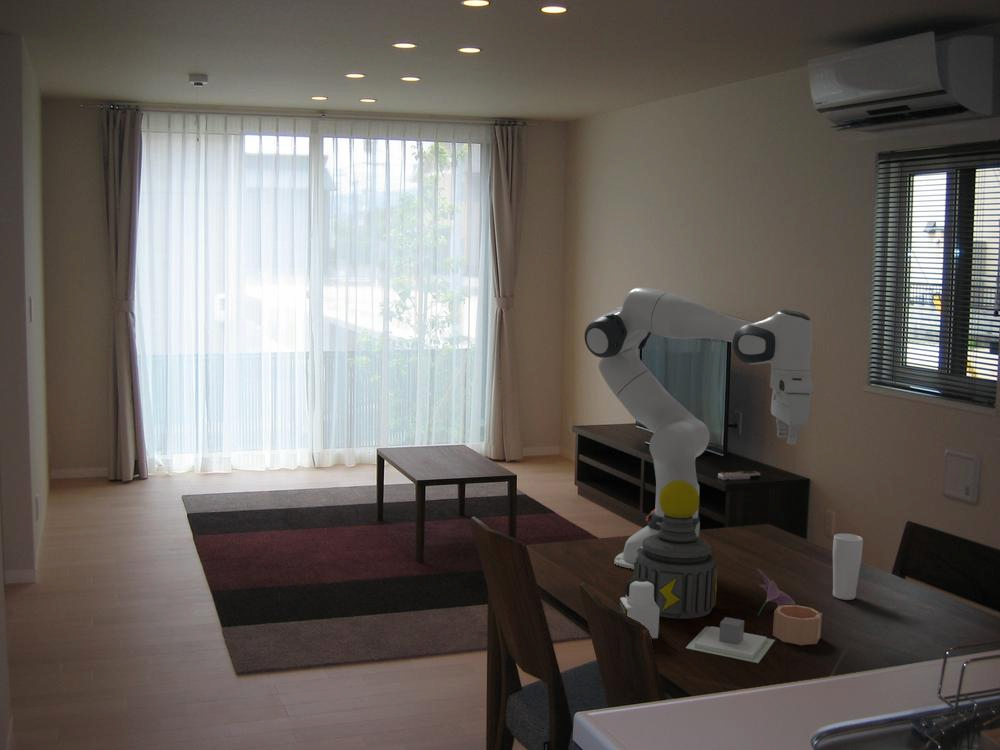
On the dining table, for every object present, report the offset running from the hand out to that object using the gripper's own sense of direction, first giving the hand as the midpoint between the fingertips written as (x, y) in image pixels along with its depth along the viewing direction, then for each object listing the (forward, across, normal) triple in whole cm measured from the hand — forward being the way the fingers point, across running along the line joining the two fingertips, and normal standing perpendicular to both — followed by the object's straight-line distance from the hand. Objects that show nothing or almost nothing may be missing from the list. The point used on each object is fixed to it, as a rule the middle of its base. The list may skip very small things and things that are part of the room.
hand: (786, 440), depth 243 cm
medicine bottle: (+39, +24, -35) cm, 58 cm away
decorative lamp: (+39, +6, -25) cm, 47 cm away
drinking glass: (+39, -8, +18) cm, 44 cm away
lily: (+40, +6, -2) cm, 40 cm away
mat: (+39, +29, -16) cm, 51 cm away
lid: (+39, +29, -16) cm, 51 cm away
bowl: (+39, +23, -1) cm, 45 cm away
